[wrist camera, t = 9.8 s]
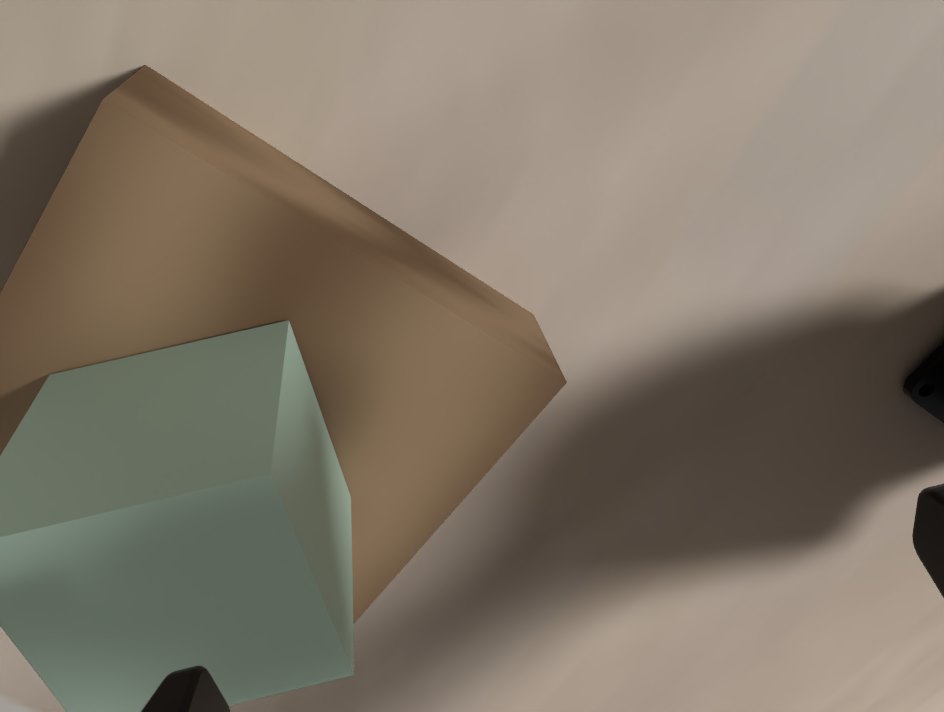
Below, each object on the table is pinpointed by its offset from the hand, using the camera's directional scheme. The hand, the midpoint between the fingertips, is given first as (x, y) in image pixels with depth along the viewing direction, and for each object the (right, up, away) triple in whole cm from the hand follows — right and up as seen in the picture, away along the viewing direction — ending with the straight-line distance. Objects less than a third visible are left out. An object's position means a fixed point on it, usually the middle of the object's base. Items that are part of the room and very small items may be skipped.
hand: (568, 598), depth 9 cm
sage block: (-7, +1, +8) cm, 10 cm away
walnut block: (-7, +3, +11) cm, 14 cm away
